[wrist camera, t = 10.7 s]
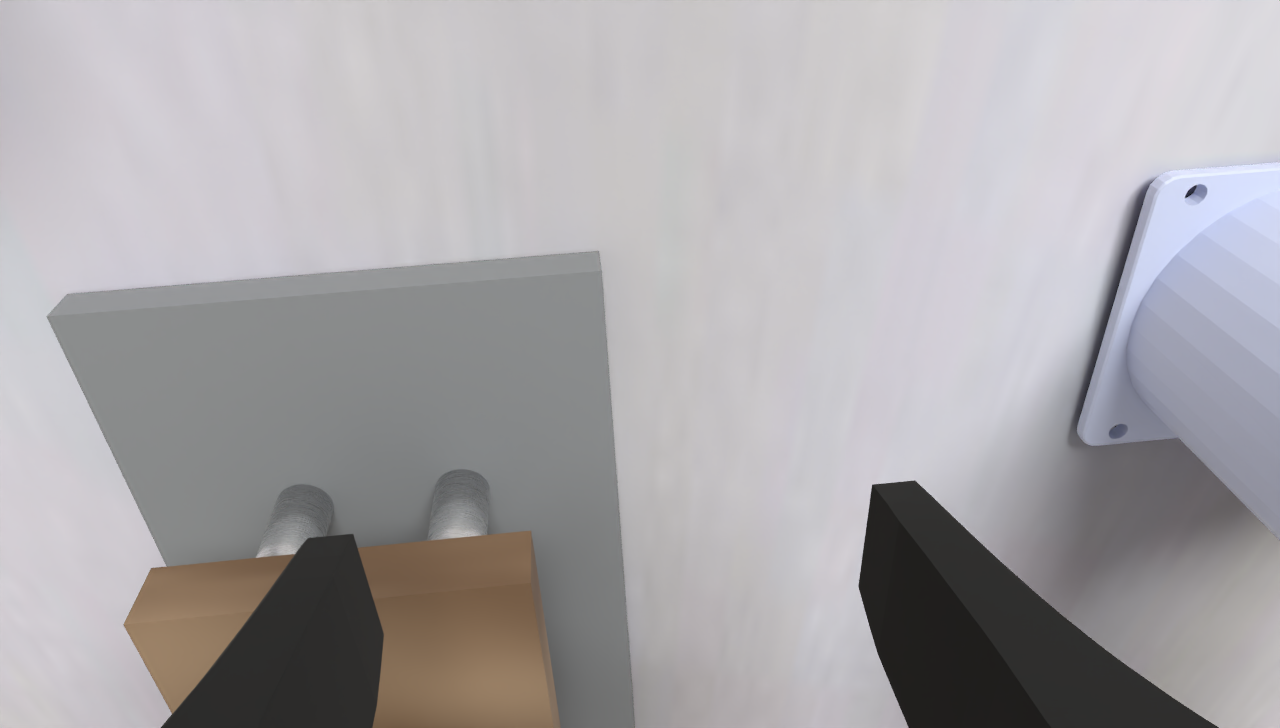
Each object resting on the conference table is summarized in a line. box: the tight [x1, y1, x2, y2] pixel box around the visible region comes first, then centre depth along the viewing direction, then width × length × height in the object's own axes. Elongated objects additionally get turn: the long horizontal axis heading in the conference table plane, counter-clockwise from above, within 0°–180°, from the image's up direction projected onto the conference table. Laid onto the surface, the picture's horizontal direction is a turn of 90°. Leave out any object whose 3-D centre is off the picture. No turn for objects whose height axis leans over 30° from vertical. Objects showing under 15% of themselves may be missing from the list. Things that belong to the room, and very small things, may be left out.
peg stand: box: [47, 251, 635, 728], centre depth 24 cm, size 12×22×4 cm, turn 2°
